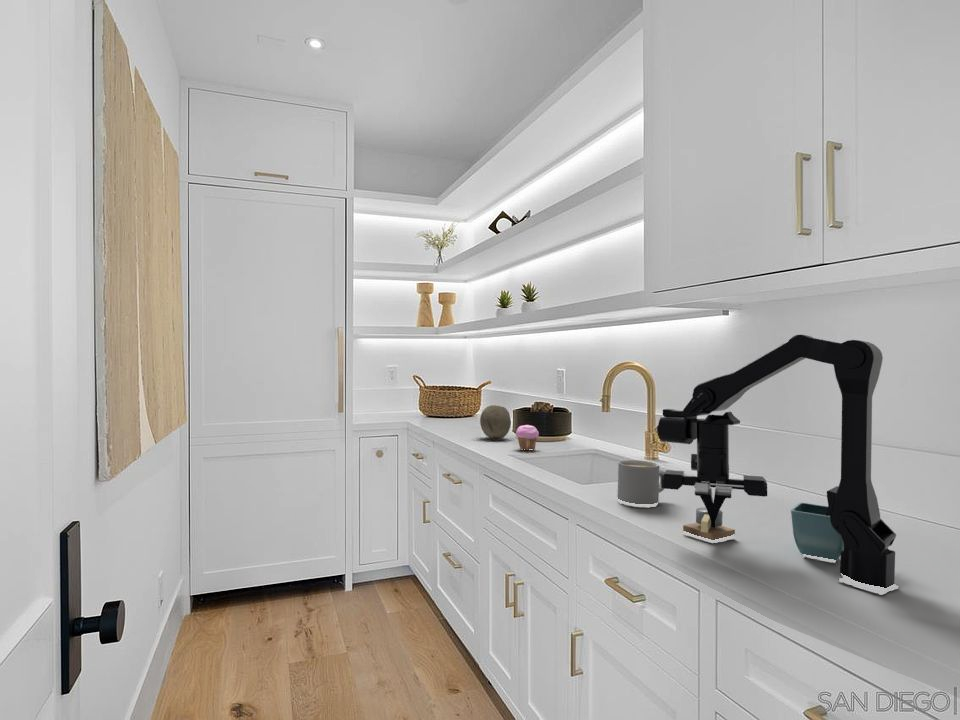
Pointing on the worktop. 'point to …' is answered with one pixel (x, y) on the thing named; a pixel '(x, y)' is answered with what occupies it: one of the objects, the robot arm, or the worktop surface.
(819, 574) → the worktop surface
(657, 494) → the coffee mug
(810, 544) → the flower pot
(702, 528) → the toy pan
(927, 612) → the worktop surface
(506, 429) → the cantaloupe
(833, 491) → the robot arm
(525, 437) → the cupcake
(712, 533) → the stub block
